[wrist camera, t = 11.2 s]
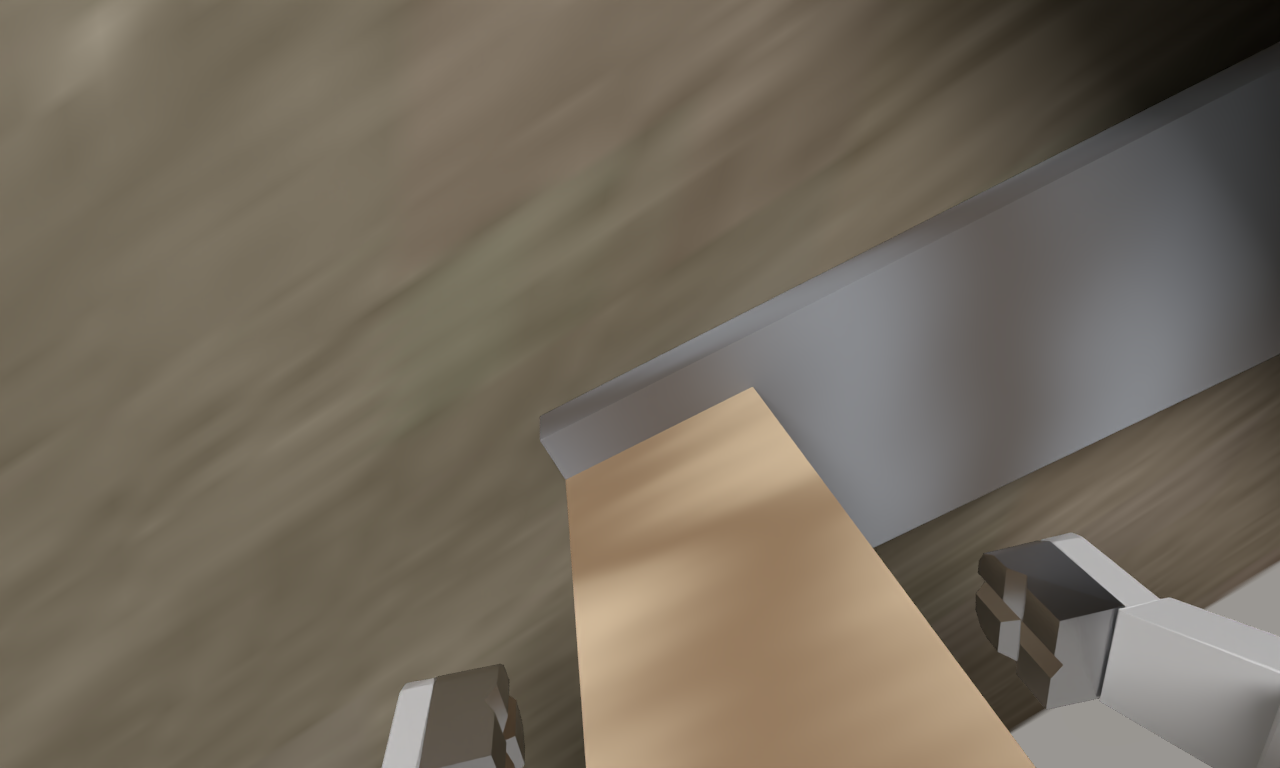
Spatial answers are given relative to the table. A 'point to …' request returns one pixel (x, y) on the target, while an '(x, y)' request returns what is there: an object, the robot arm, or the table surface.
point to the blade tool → (899, 440)
